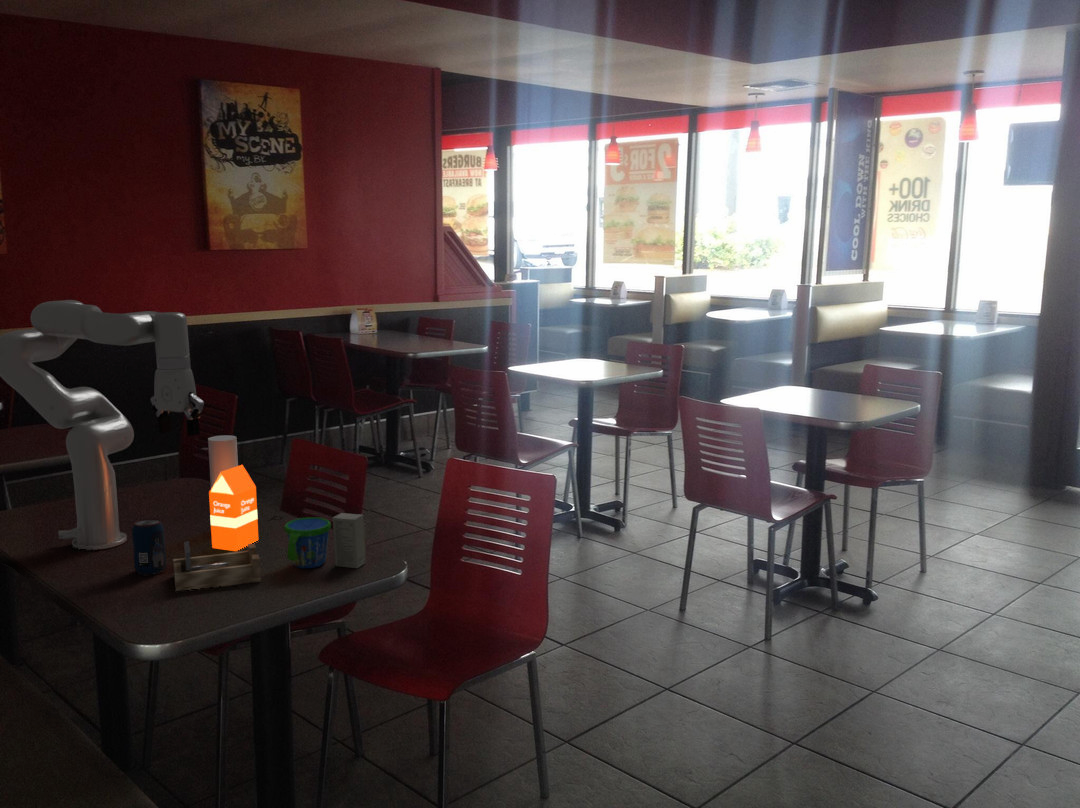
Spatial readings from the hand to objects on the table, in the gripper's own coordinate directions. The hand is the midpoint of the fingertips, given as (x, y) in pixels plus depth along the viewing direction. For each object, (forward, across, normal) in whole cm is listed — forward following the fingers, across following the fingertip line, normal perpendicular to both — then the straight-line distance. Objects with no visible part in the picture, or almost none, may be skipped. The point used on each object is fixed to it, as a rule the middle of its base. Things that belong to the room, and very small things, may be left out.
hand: (179, 433), depth 226 cm
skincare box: (+31, +41, +12) cm, 53 cm away
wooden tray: (+30, +21, -10) cm, 38 cm away
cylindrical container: (+30, -5, +18) cm, 35 cm away
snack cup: (+31, +33, +7) cm, 45 cm away
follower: (+29, +20, -12) cm, 37 cm away
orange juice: (+30, +6, +9) cm, 32 cm away
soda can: (+30, +4, -14) cm, 34 cm away
